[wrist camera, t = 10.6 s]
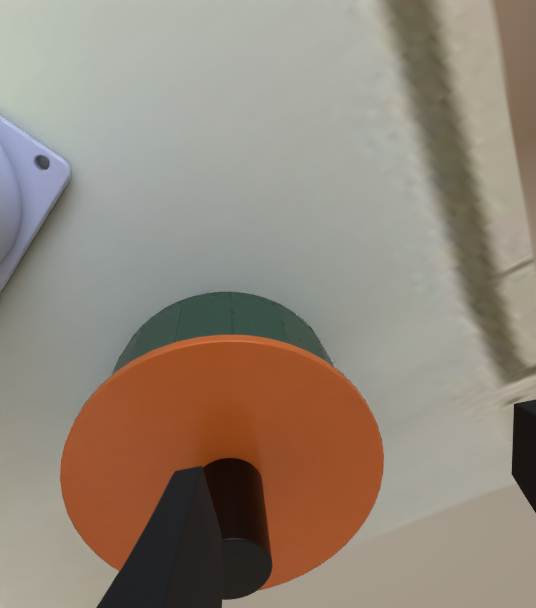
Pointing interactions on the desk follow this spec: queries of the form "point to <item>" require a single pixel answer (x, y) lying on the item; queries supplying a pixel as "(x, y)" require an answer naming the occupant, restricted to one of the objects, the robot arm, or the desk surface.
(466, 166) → the desk surface
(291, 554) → the lid
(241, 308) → the tin
